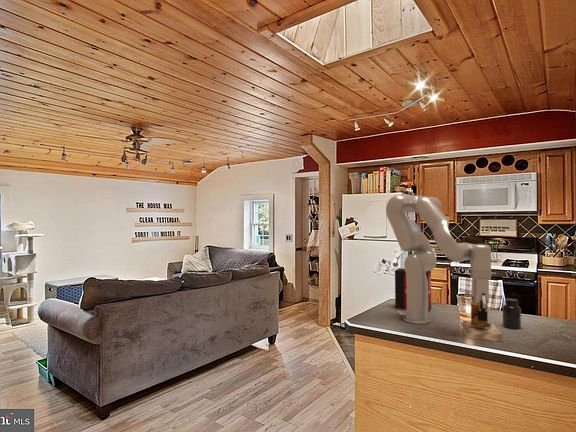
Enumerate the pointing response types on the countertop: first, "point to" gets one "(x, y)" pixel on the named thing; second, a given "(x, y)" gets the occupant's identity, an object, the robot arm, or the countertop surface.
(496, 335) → the base slab
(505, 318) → the supplement bottle
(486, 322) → the condiment
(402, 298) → the cleaning product box
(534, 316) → the countertop surface
